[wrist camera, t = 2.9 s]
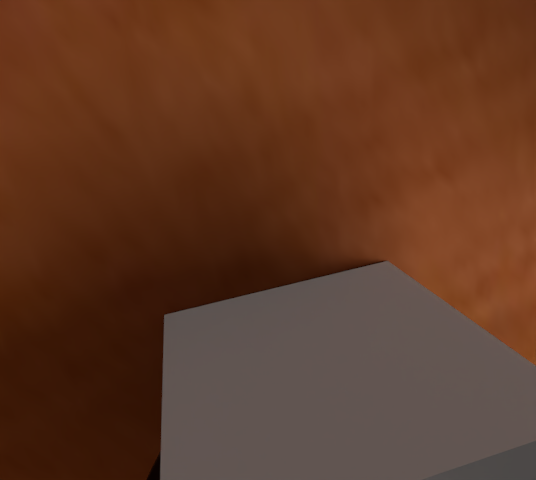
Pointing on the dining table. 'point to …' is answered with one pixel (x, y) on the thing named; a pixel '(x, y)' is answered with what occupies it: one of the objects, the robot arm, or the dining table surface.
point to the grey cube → (343, 387)
